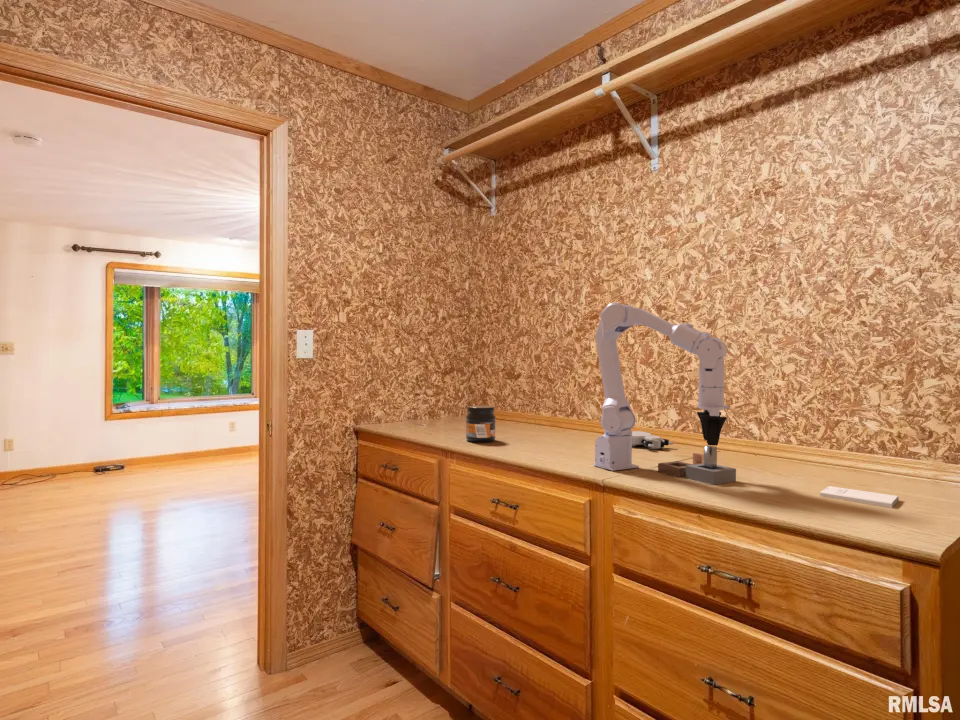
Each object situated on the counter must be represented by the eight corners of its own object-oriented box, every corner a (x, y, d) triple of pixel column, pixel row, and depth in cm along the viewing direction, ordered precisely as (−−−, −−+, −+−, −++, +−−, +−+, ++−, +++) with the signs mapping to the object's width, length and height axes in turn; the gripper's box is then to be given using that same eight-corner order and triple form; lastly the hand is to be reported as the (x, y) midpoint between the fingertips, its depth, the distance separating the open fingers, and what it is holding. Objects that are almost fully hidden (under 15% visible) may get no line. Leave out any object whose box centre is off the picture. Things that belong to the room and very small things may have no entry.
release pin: (688, 472, 136) (688, 456, 136) (679, 470, 139) (679, 454, 139) (705, 469, 139) (705, 454, 139) (696, 467, 142) (696, 452, 142)
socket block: (679, 477, 132) (679, 468, 132) (658, 471, 138) (658, 463, 138) (699, 474, 135) (699, 465, 135) (677, 469, 141) (677, 460, 141)
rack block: (713, 484, 124) (713, 471, 124) (685, 477, 131) (685, 465, 131) (735, 481, 128) (735, 468, 128) (707, 474, 135) (707, 462, 135)
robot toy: (675, 451, 173) (640, 441, 186) (676, 438, 173) (641, 429, 185) (650, 455, 166) (614, 444, 179) (651, 441, 166) (615, 431, 179)
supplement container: (481, 444, 179) (481, 408, 179) (459, 440, 187) (459, 406, 187) (501, 440, 187) (502, 406, 187) (480, 437, 194) (480, 404, 194)
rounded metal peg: (710, 481, 128) (710, 448, 128) (700, 478, 130) (700, 446, 130) (719, 480, 129) (719, 447, 129) (709, 477, 132) (709, 445, 132)
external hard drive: (892, 511, 106) (819, 498, 115) (898, 503, 112) (829, 492, 121) (892, 503, 106) (819, 491, 115) (898, 495, 112) (829, 484, 121)
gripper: (734, 389, 121) (733, 448, 122) (724, 385, 135) (724, 439, 135) (700, 388, 123) (700, 446, 124) (695, 385, 137) (694, 437, 138)
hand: (710, 442), depth 130 cm, fingers open, 7 cm apart
